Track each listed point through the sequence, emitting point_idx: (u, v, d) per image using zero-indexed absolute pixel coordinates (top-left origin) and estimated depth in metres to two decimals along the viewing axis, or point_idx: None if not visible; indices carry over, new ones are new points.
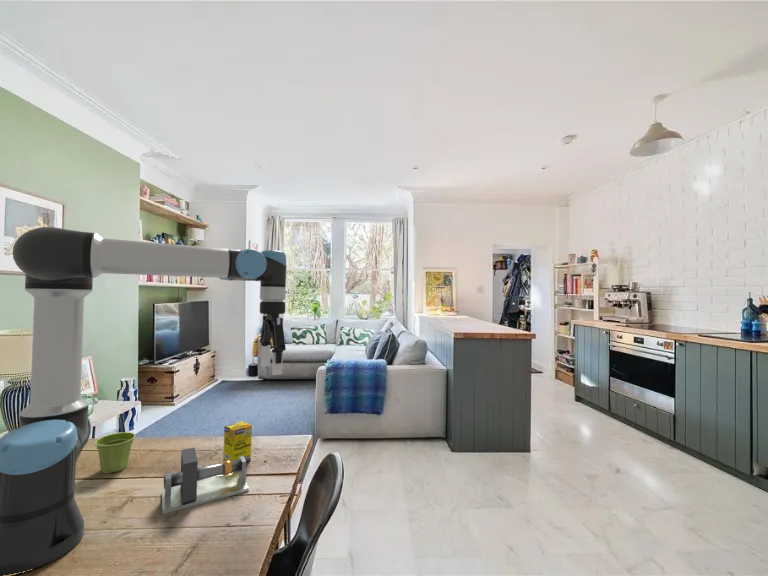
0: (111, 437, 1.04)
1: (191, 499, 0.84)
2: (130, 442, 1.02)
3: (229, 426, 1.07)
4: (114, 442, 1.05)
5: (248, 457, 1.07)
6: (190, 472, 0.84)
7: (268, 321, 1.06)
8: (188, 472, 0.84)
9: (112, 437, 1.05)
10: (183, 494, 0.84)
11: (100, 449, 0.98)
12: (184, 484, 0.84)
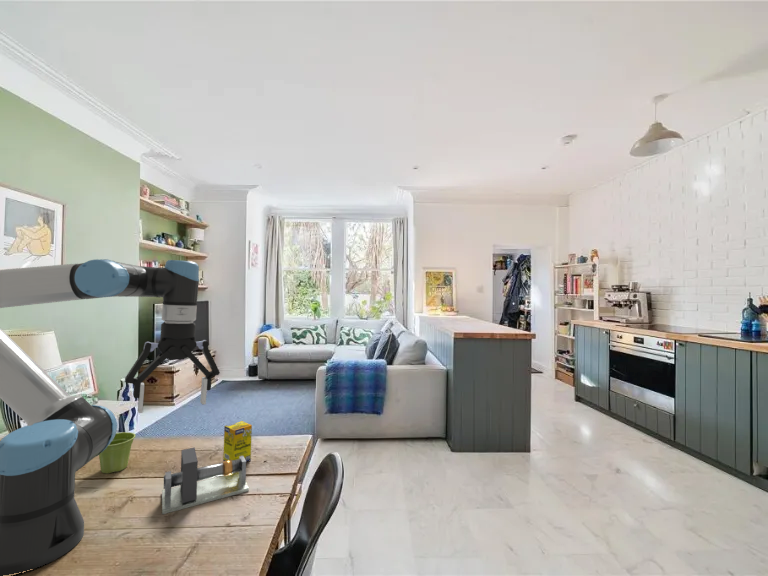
0: None
1: (191, 499, 0.84)
2: (130, 442, 1.02)
3: (229, 426, 1.07)
4: (114, 442, 1.05)
5: (248, 457, 1.07)
6: (190, 472, 0.84)
7: None
8: (188, 472, 0.84)
9: None
10: (183, 494, 0.84)
11: None
12: (184, 484, 0.84)
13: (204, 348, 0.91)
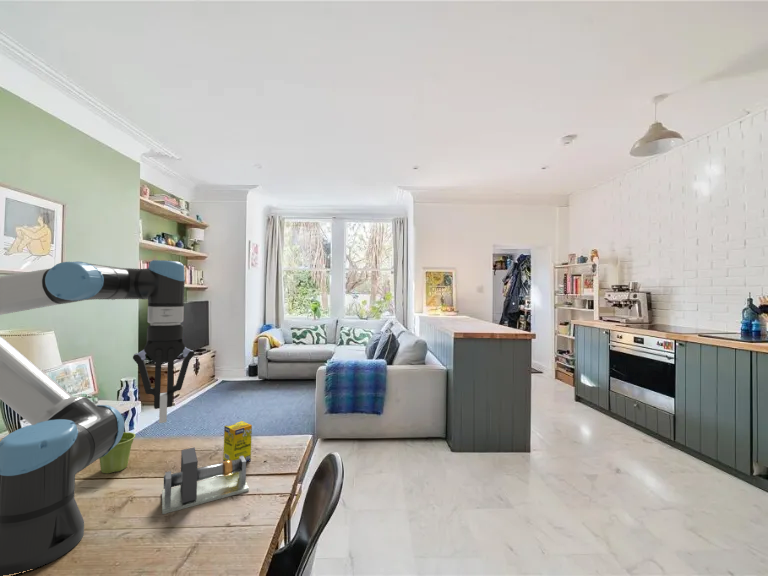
0: None
1: (191, 499, 0.84)
2: (130, 442, 1.02)
3: (229, 426, 1.07)
4: None
5: (248, 457, 1.07)
6: (190, 472, 0.84)
7: None
8: (188, 472, 0.84)
9: None
10: (183, 494, 0.84)
11: None
12: (184, 484, 0.84)
13: (186, 357, 0.87)
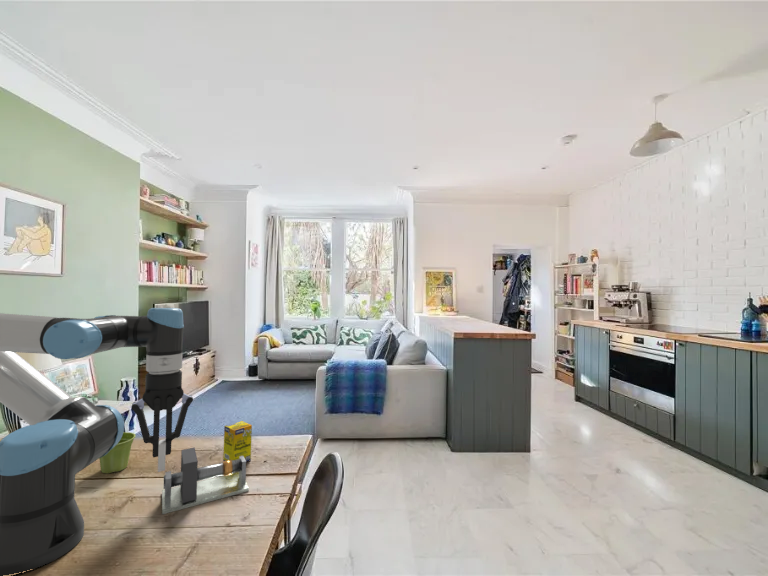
0: None
1: (191, 499, 0.84)
2: (130, 442, 1.02)
3: (229, 426, 1.07)
4: None
5: (248, 457, 1.07)
6: (190, 472, 0.84)
7: None
8: (188, 472, 0.84)
9: None
10: (183, 494, 0.84)
11: None
12: (184, 484, 0.84)
13: (185, 404, 0.87)
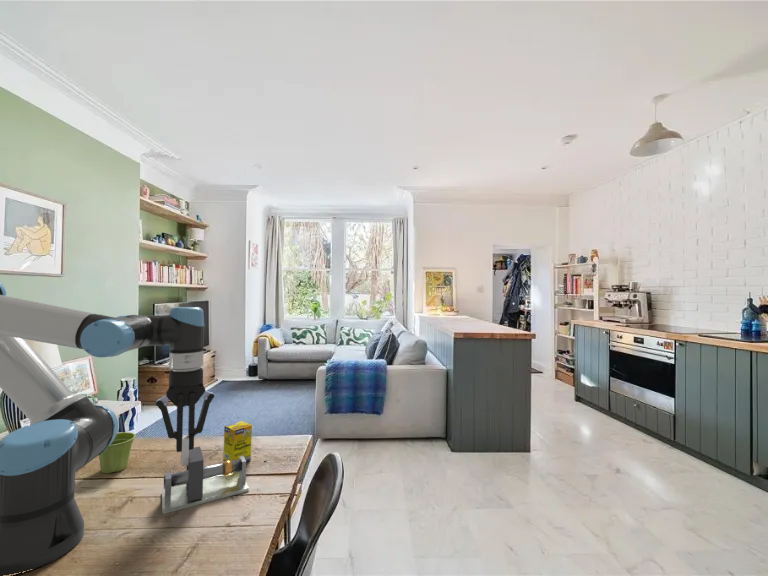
0: None
1: (197, 497, 0.85)
2: (130, 442, 1.02)
3: (229, 426, 1.07)
4: (114, 442, 1.05)
5: (248, 457, 1.07)
6: (196, 471, 0.85)
7: None
8: (194, 471, 0.85)
9: None
10: (189, 492, 0.84)
11: None
12: (190, 483, 0.84)
13: (207, 400, 0.89)
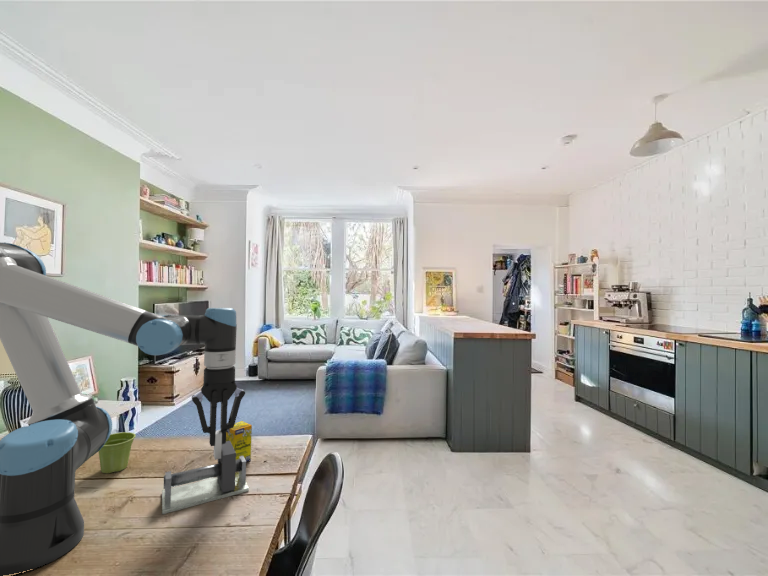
0: (111, 437, 1.04)
1: (230, 489, 0.89)
2: (130, 442, 1.02)
3: None
4: (114, 442, 1.05)
5: (248, 457, 1.07)
6: (229, 463, 0.89)
7: None
8: (227, 463, 0.89)
9: (112, 437, 1.05)
10: (223, 484, 0.88)
11: (100, 449, 0.98)
12: (224, 475, 0.88)
13: (238, 397, 0.94)
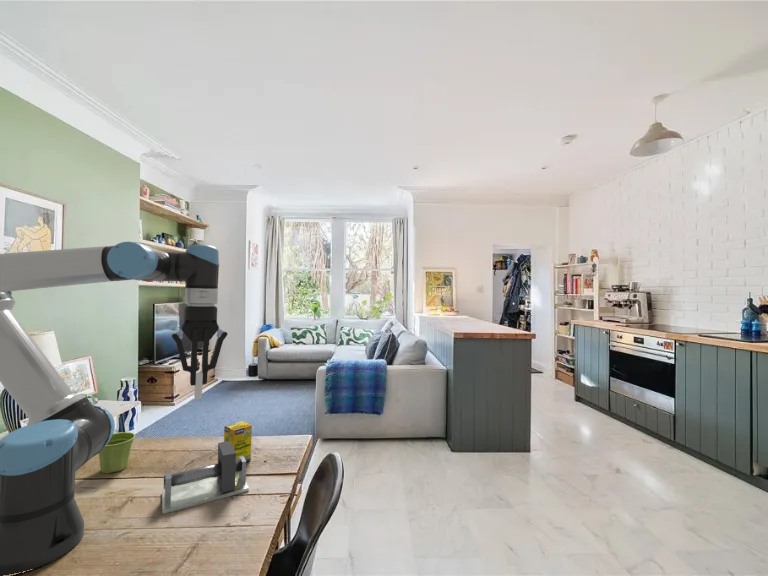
0: None
1: (230, 489, 0.89)
2: (130, 442, 1.02)
3: (229, 426, 1.07)
4: (114, 442, 1.05)
5: (248, 457, 1.07)
6: (229, 463, 0.89)
7: None
8: (227, 463, 0.89)
9: (112, 437, 1.05)
10: (223, 484, 0.88)
11: None
12: (224, 475, 0.88)
13: (220, 337, 0.92)
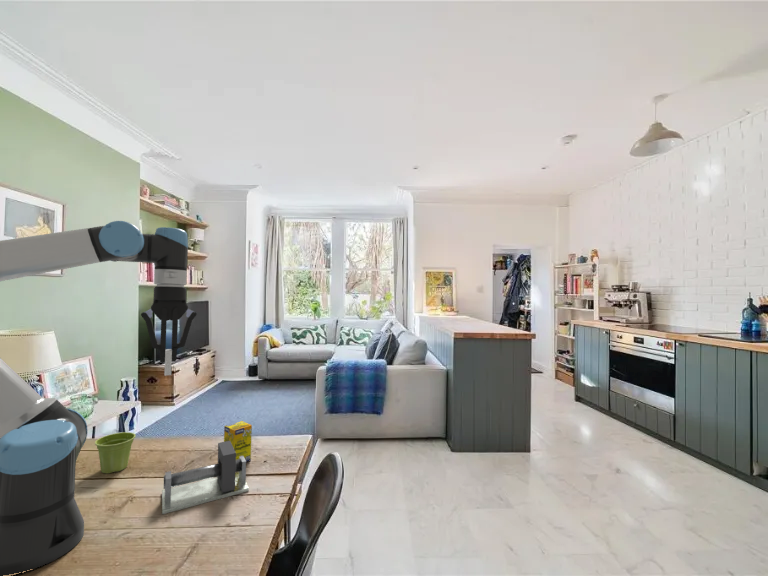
0: (111, 437, 1.04)
1: (230, 489, 0.89)
2: (130, 442, 1.02)
3: (229, 426, 1.07)
4: (114, 442, 1.05)
5: (248, 457, 1.07)
6: (229, 463, 0.89)
7: None
8: (227, 463, 0.89)
9: (112, 437, 1.05)
10: (223, 484, 0.88)
11: (100, 449, 0.98)
12: (224, 475, 0.88)
13: (189, 317, 0.96)
